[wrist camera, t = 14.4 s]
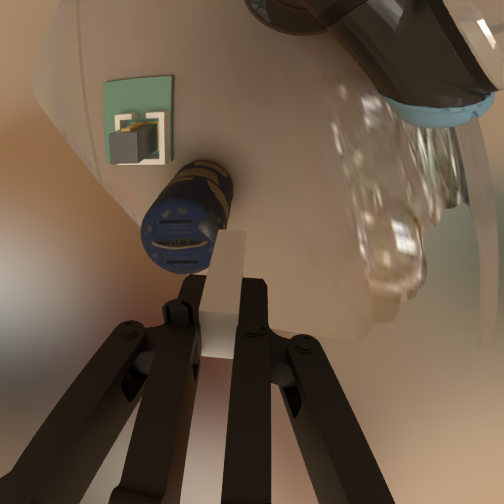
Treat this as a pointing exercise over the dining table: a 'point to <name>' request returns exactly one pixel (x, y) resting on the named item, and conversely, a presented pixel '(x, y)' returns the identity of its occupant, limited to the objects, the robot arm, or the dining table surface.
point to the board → (138, 103)
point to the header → (161, 132)
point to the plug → (133, 143)
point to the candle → (188, 218)
